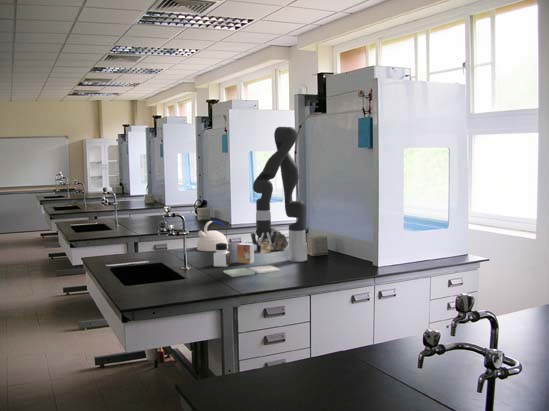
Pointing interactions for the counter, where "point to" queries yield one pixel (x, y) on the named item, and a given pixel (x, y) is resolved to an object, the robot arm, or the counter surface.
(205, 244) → the kettle
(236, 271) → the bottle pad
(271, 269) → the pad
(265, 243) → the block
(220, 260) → the medicine bottle
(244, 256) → the small box
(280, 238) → the rock
